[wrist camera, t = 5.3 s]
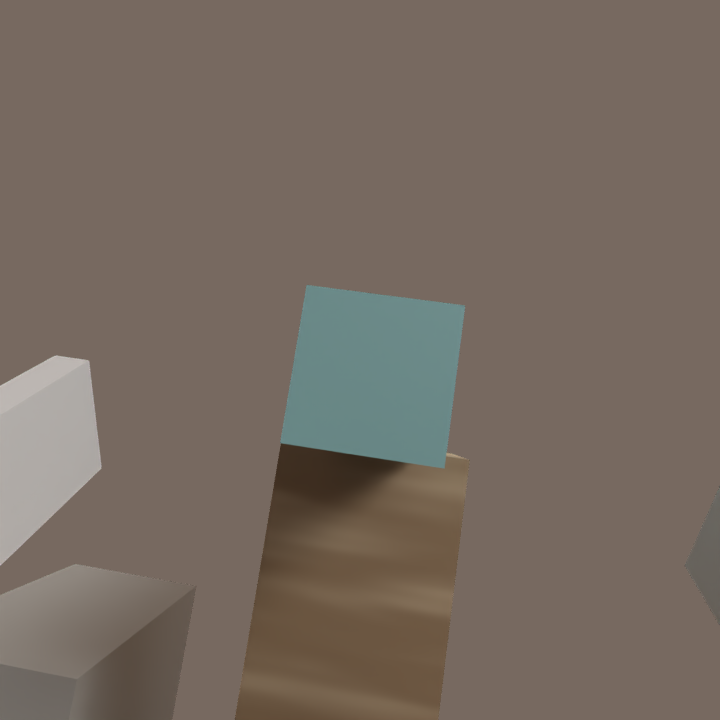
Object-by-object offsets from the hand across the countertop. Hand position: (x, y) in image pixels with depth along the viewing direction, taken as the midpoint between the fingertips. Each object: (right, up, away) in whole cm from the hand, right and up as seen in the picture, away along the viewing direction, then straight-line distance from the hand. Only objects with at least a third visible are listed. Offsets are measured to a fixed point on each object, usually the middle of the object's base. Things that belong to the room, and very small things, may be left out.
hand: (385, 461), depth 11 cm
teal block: (0, -2, +12) cm, 12 cm away
